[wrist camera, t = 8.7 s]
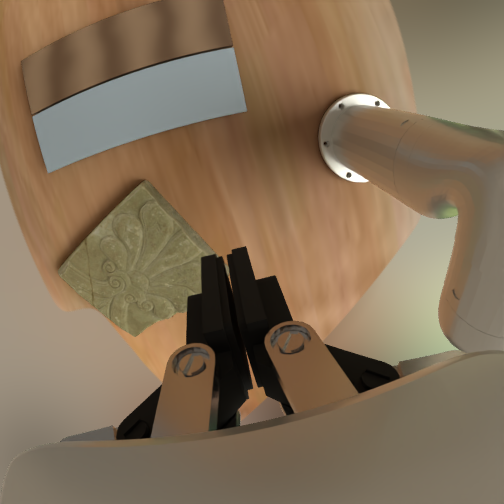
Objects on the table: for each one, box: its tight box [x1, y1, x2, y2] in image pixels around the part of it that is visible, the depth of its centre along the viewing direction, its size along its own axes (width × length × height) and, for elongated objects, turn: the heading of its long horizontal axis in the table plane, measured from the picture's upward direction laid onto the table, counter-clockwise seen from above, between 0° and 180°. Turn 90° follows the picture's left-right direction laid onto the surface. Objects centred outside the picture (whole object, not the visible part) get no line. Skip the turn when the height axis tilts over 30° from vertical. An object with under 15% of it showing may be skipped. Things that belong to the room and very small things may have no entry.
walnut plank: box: [21, 0, 233, 115], centre depth 27 cm, size 26×8×2 cm, turn 101°
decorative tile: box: [58, 180, 229, 337], centre depth 42 cm, size 19×20×4 cm
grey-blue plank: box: [32, 47, 247, 173], centre depth 31 cm, size 26×8×2 cm, turn 101°
